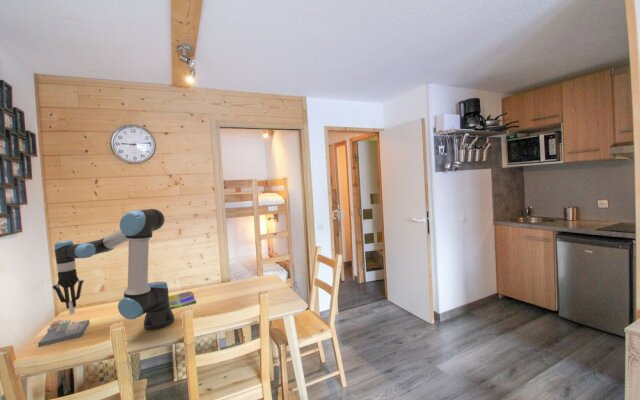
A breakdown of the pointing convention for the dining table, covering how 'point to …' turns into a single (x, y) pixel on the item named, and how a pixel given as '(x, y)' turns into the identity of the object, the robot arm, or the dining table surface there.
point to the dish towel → (181, 300)
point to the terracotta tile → (55, 324)
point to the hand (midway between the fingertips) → (72, 313)
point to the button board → (62, 334)
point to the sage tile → (64, 324)
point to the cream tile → (73, 325)
